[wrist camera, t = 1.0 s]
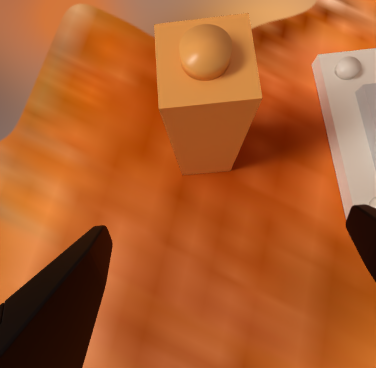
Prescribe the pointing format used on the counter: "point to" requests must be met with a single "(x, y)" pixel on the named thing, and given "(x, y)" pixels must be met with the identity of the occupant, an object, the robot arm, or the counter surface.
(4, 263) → the counter surface
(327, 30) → the counter surface
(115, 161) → the counter surface
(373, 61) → the baseplate
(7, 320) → the robot arm
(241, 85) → the column brick
